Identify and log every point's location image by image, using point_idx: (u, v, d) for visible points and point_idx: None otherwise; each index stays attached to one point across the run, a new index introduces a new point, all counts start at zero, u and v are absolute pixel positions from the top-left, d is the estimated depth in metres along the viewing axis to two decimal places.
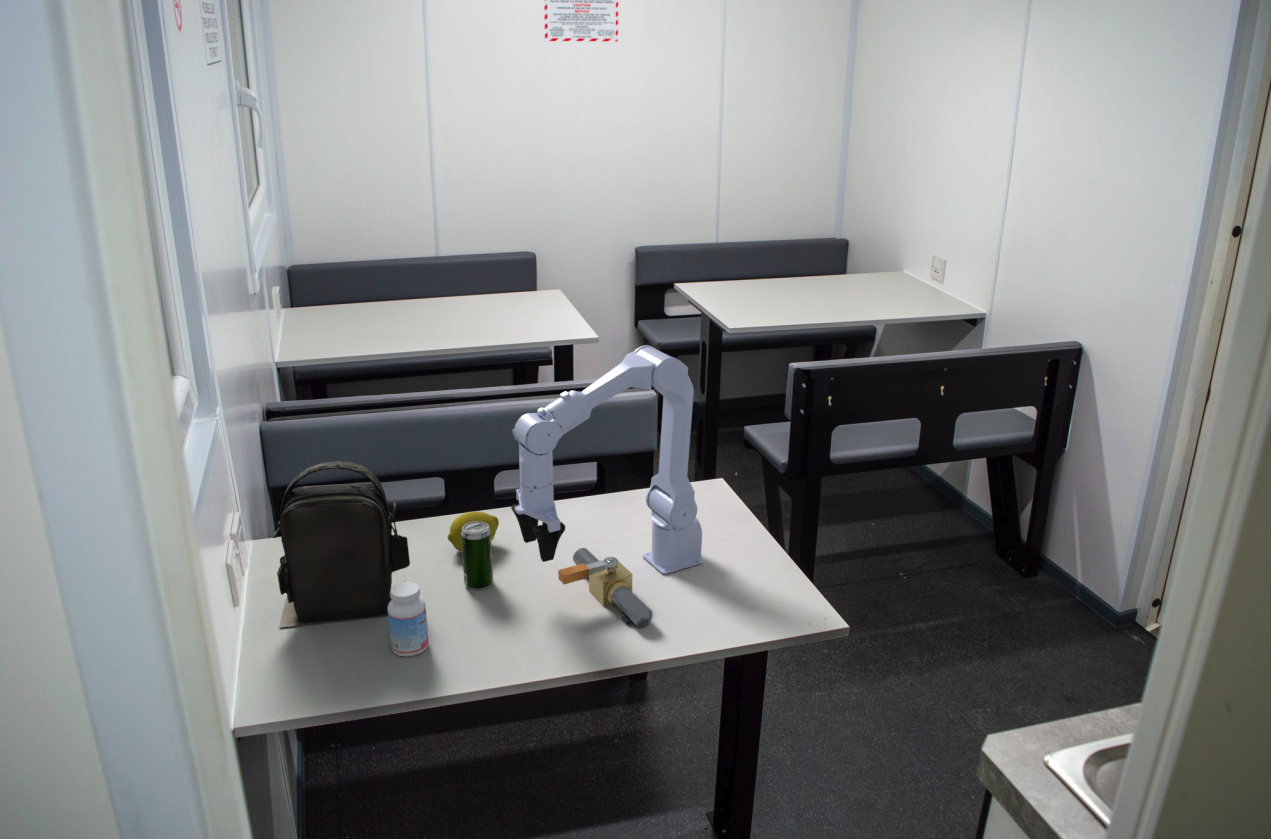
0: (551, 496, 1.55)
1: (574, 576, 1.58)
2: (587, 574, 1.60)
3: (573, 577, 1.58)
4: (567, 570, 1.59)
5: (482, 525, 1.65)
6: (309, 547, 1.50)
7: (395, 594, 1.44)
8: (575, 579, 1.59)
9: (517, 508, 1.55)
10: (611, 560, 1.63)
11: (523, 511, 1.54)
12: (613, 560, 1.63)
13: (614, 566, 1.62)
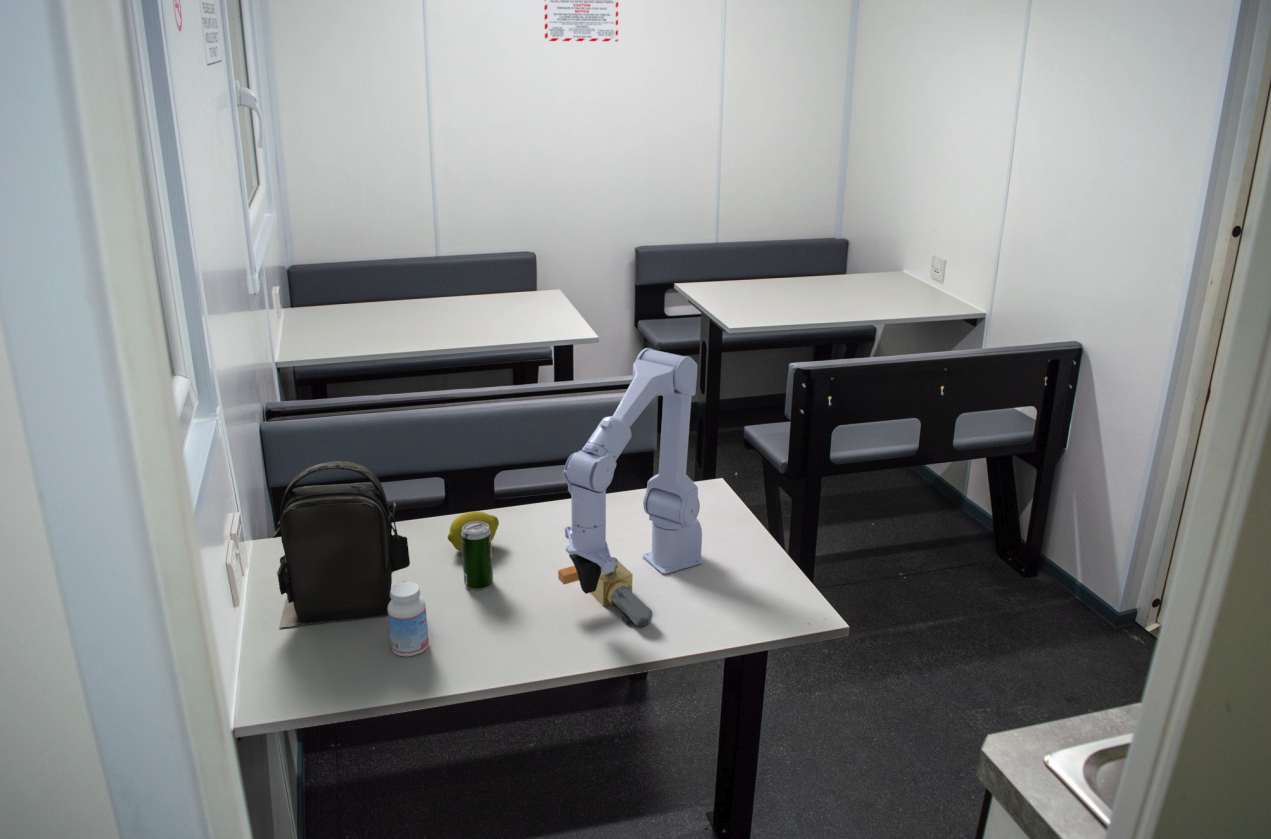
0: (603, 536, 1.49)
1: (574, 576, 1.58)
2: None
3: (573, 577, 1.58)
4: (567, 570, 1.59)
5: (482, 525, 1.65)
6: (309, 547, 1.50)
7: (395, 594, 1.44)
8: (575, 579, 1.59)
9: (568, 548, 1.50)
10: None
11: (575, 551, 1.49)
12: (613, 560, 1.63)
13: (614, 566, 1.62)
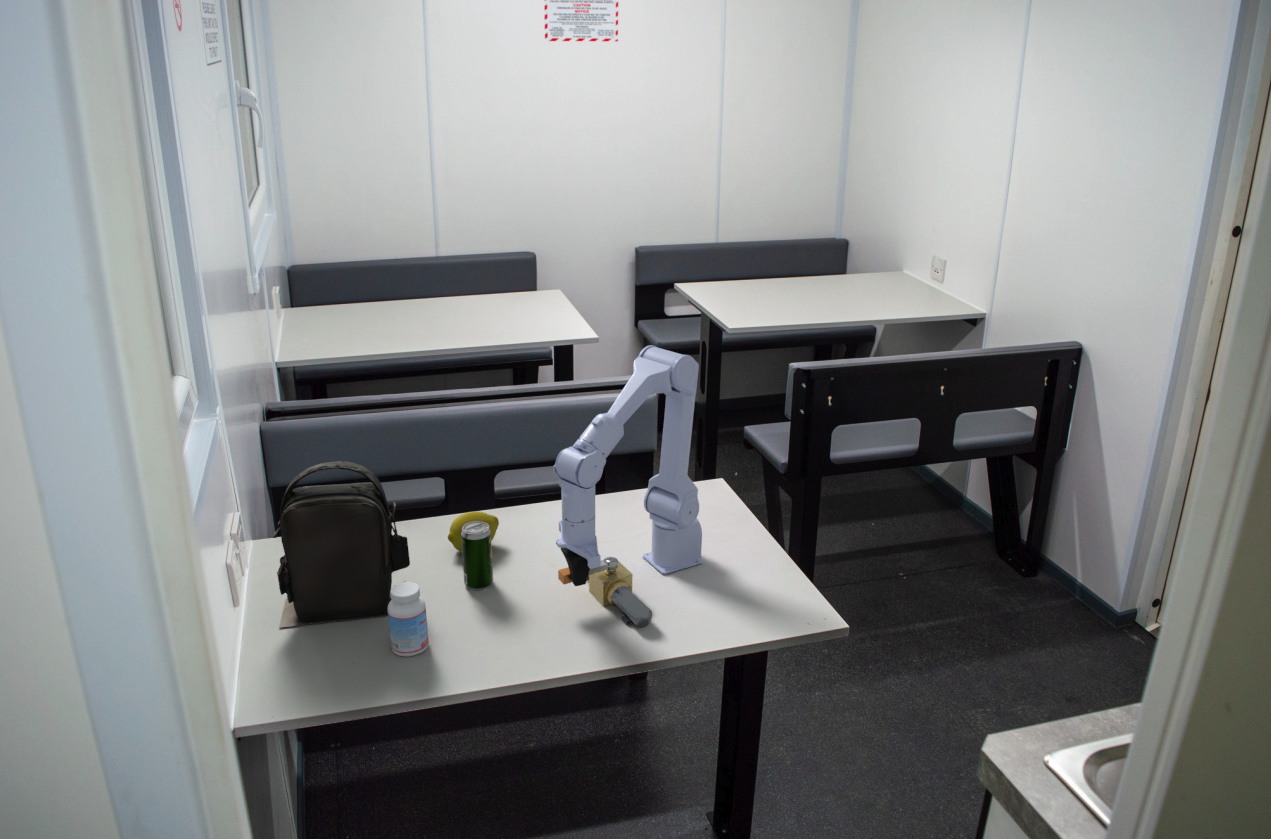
0: (592, 531, 1.53)
1: None
2: None
3: None
4: (567, 570, 1.59)
5: (482, 525, 1.65)
6: (309, 547, 1.50)
7: (395, 594, 1.44)
8: None
9: (558, 541, 1.53)
10: (611, 560, 1.63)
11: (564, 545, 1.53)
12: (613, 560, 1.63)
13: (614, 566, 1.62)
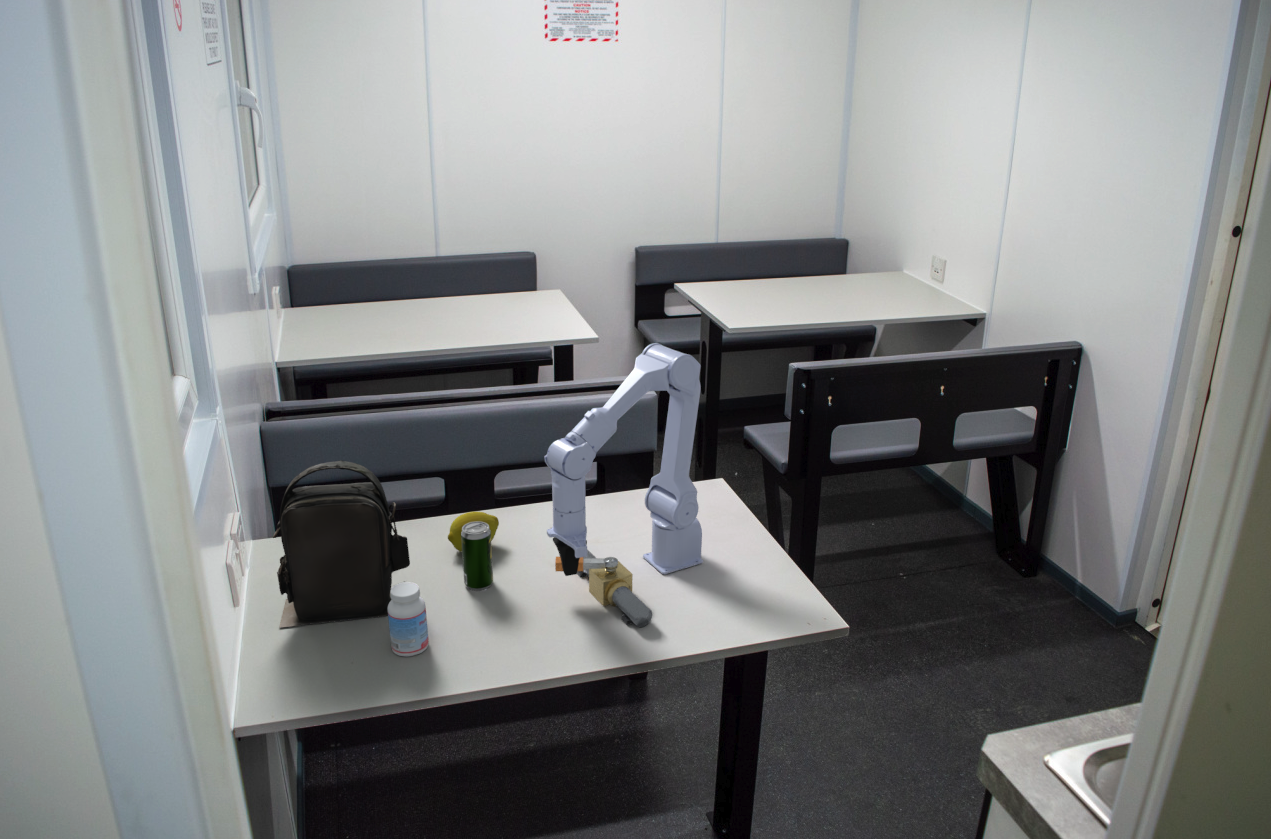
0: (582, 522, 1.55)
1: None
2: (581, 567, 1.62)
3: None
4: None
5: (482, 525, 1.65)
6: (309, 547, 1.50)
7: (395, 594, 1.44)
8: None
9: (549, 531, 1.57)
10: (610, 560, 1.62)
11: (554, 534, 1.56)
12: (613, 561, 1.63)
13: (611, 567, 1.62)
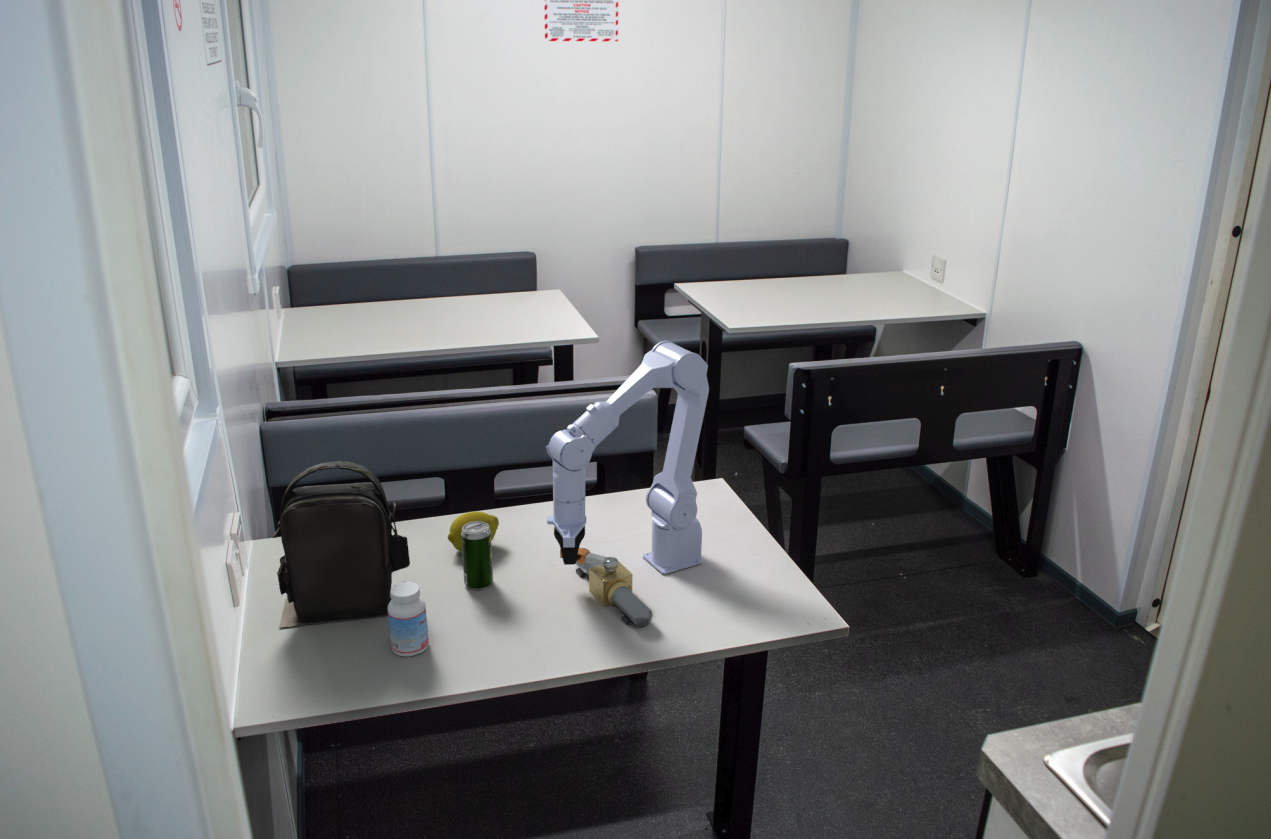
0: (578, 513, 1.58)
1: None
2: (582, 560, 1.64)
3: None
4: None
5: (482, 525, 1.65)
6: (309, 547, 1.50)
7: (395, 594, 1.44)
8: None
9: (548, 518, 1.61)
10: (610, 560, 1.62)
11: (552, 522, 1.60)
12: (612, 561, 1.62)
13: (607, 566, 1.62)
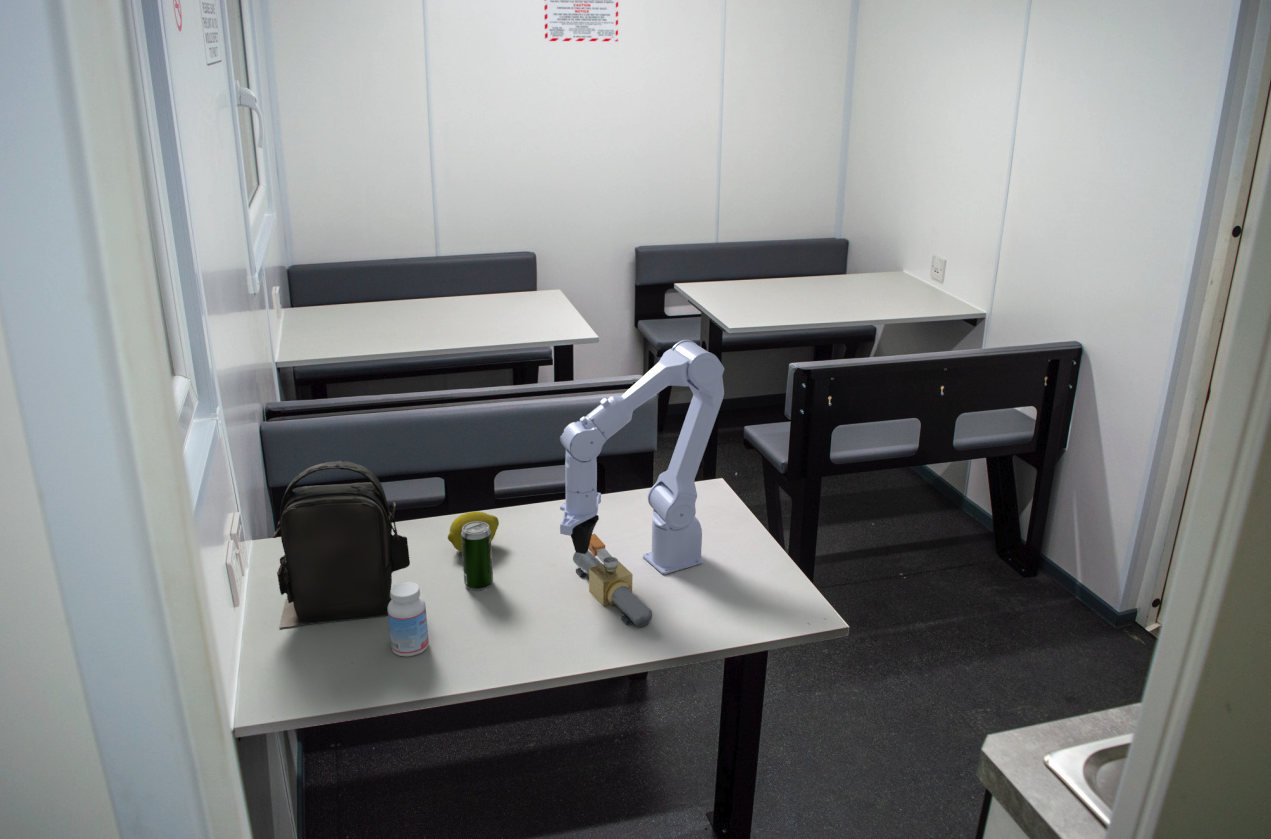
0: (584, 504, 1.62)
1: None
2: (593, 552, 1.67)
3: None
4: (592, 537, 1.70)
5: (482, 525, 1.65)
6: (309, 547, 1.50)
7: (395, 594, 1.44)
8: None
9: (563, 504, 1.66)
10: (609, 560, 1.63)
11: (563, 508, 1.65)
12: (611, 562, 1.62)
13: (604, 565, 1.62)
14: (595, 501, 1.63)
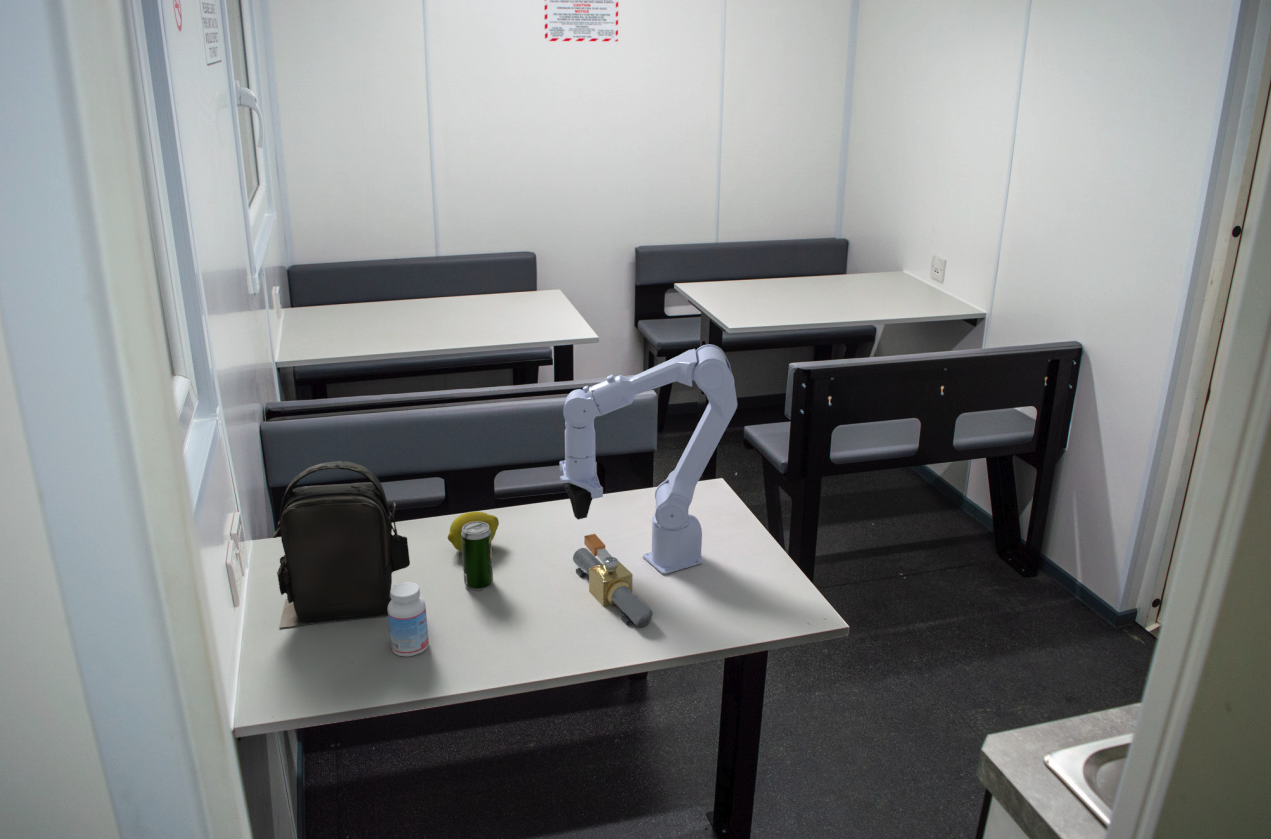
0: (593, 466, 1.68)
1: (588, 544, 1.69)
2: (593, 552, 1.67)
3: (588, 544, 1.69)
4: (592, 537, 1.70)
5: (482, 525, 1.65)
6: (309, 547, 1.50)
7: (395, 594, 1.44)
8: (588, 547, 1.69)
9: (562, 477, 1.69)
10: (609, 560, 1.63)
11: (568, 480, 1.68)
12: (611, 562, 1.62)
13: (604, 565, 1.62)
14: None
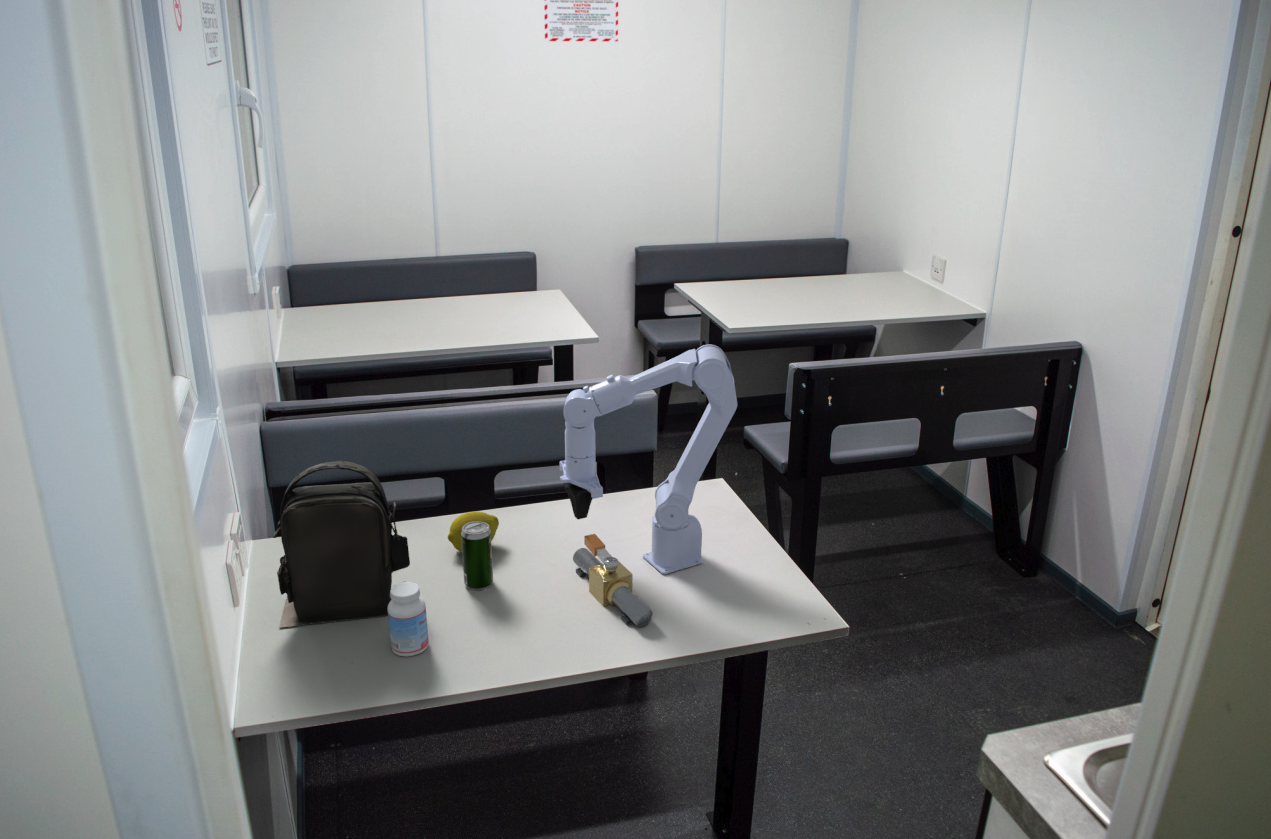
0: (593, 466, 1.68)
1: (588, 544, 1.69)
2: (593, 552, 1.67)
3: (588, 544, 1.69)
4: (592, 537, 1.70)
5: (482, 525, 1.65)
6: (309, 547, 1.50)
7: (395, 594, 1.44)
8: (588, 547, 1.69)
9: (562, 477, 1.69)
10: (609, 560, 1.63)
11: (568, 480, 1.68)
12: (611, 562, 1.62)
13: (604, 565, 1.62)
14: None
